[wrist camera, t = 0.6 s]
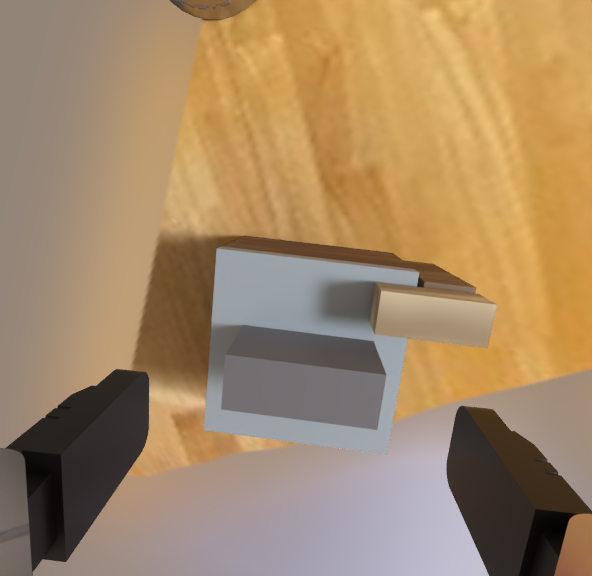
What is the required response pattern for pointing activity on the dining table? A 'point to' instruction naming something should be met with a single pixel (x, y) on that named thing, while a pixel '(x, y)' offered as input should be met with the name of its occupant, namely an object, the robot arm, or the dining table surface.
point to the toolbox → (357, 260)
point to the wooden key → (432, 314)
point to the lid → (302, 351)
